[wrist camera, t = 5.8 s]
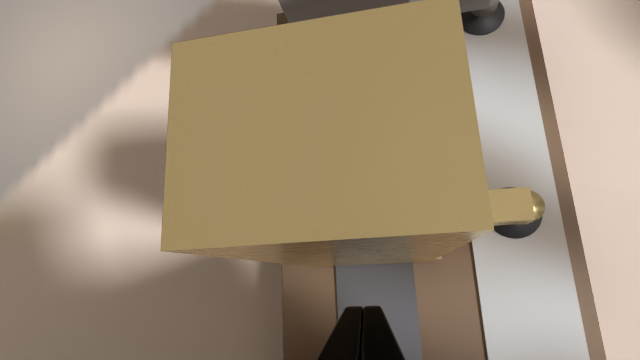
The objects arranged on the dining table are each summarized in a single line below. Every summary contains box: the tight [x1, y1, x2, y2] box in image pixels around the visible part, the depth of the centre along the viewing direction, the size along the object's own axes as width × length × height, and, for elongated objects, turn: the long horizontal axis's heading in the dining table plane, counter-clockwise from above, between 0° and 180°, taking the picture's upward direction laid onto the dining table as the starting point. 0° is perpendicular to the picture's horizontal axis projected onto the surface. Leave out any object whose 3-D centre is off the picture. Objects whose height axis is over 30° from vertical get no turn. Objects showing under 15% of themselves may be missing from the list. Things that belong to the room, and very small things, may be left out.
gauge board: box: [277, 0, 606, 360], centre depth 10 cm, size 20×10×12 cm, turn 3°
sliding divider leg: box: [161, 0, 545, 267], centre depth 9 cm, size 3×8×10 cm, turn 93°
